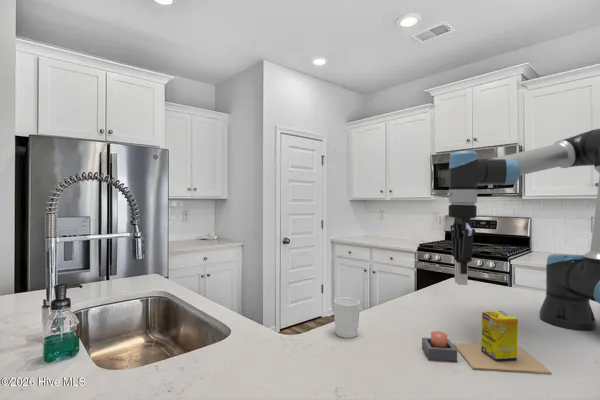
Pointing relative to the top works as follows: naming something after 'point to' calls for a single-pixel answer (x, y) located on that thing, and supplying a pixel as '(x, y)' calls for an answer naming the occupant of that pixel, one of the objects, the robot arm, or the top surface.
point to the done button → (438, 339)
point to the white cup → (346, 316)
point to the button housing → (439, 351)
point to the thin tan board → (484, 362)
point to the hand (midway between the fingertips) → (460, 283)
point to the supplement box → (499, 336)
